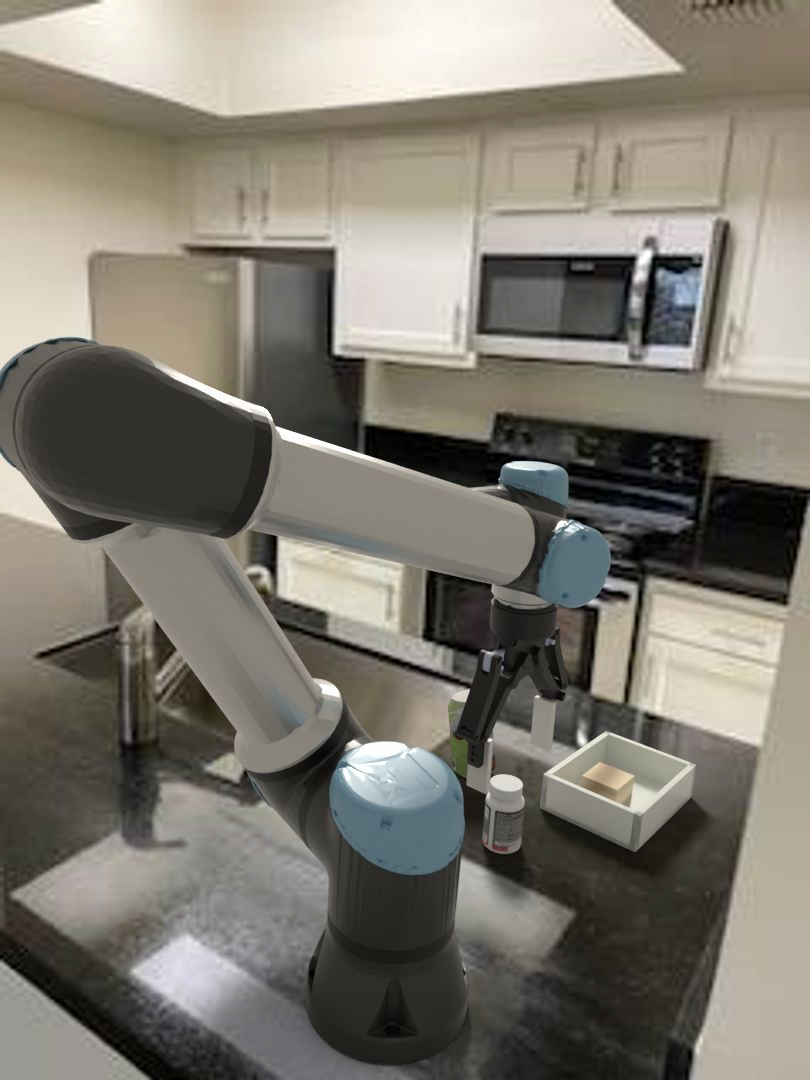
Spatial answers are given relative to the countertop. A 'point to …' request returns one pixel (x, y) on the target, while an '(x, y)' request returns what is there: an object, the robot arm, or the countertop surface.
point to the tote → (652, 804)
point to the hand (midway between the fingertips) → (510, 766)
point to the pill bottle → (504, 814)
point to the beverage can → (458, 743)
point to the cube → (609, 783)
